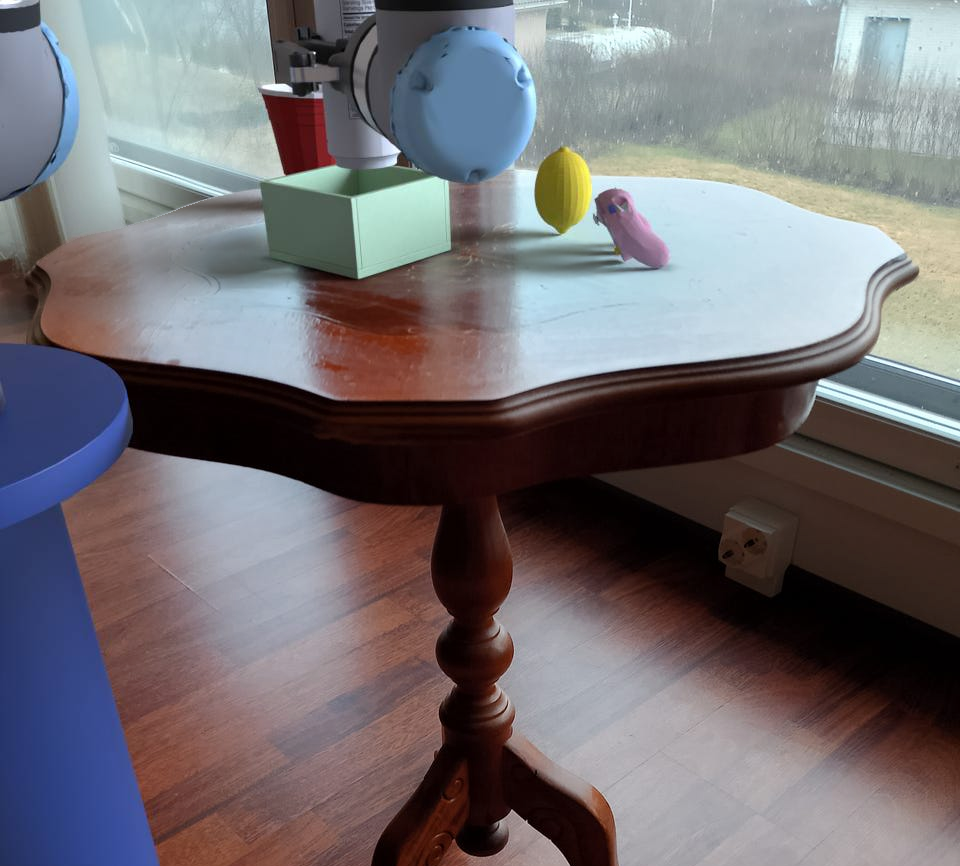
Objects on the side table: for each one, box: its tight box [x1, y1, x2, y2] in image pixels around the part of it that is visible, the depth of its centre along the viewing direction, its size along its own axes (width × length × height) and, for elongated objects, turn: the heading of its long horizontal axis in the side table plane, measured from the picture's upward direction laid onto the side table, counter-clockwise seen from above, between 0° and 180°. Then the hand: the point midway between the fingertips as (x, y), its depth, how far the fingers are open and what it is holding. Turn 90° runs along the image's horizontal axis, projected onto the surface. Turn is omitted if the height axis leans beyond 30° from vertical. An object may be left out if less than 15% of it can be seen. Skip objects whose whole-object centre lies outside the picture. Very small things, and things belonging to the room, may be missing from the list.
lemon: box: [533, 146, 593, 235], centre depth 104 cm, size 6×6×8 cm
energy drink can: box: [313, 0, 401, 170], centre depth 83 cm, size 6×6×15 cm
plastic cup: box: [257, 83, 336, 176], centre depth 116 cm, size 11×11×12 cm
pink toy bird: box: [592, 187, 671, 269], centre depth 97 cm, size 10×5×7 cm, turn 3°
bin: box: [259, 165, 452, 280], centre depth 100 cm, size 12×12×7 cm
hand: (346, 45), depth 86 cm, fingers closed on energy drink can, 6 cm apart
